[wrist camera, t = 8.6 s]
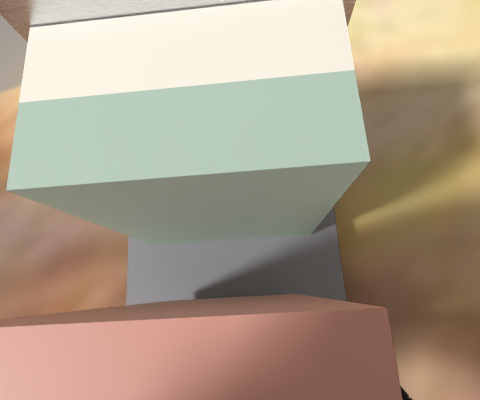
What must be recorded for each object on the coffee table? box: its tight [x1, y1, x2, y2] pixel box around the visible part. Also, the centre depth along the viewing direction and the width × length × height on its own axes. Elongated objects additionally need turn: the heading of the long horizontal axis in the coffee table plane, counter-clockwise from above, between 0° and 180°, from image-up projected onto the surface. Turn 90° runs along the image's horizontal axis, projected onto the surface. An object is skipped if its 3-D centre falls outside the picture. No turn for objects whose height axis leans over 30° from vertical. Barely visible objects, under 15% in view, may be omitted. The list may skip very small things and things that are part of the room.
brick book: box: [0, 294, 402, 400], centre depth 10 cm, size 4×6×13 cm, turn 93°
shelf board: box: [126, 207, 347, 305], centre depth 19 cm, size 18×12×2 cm, turn 3°
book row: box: [6, 0, 370, 245], centre depth 14 cm, size 5×9×11 cm, turn 93°
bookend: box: [0, 0, 356, 42], centre depth 14 cm, size 1×10×12 cm, turn 93°
